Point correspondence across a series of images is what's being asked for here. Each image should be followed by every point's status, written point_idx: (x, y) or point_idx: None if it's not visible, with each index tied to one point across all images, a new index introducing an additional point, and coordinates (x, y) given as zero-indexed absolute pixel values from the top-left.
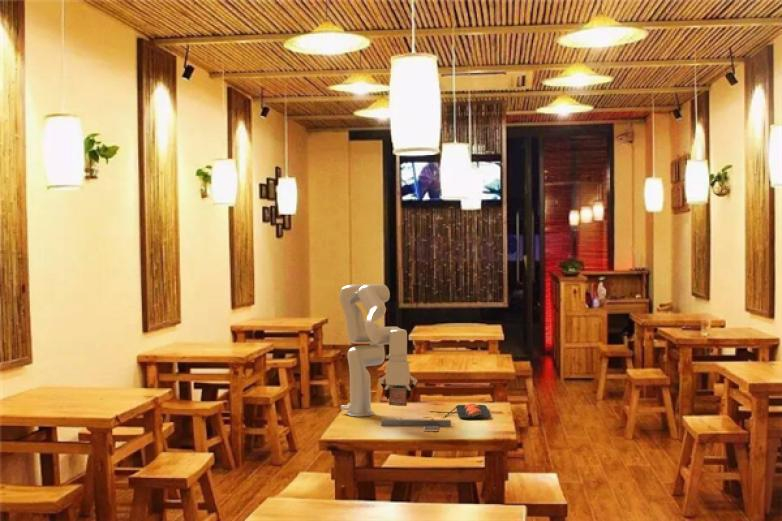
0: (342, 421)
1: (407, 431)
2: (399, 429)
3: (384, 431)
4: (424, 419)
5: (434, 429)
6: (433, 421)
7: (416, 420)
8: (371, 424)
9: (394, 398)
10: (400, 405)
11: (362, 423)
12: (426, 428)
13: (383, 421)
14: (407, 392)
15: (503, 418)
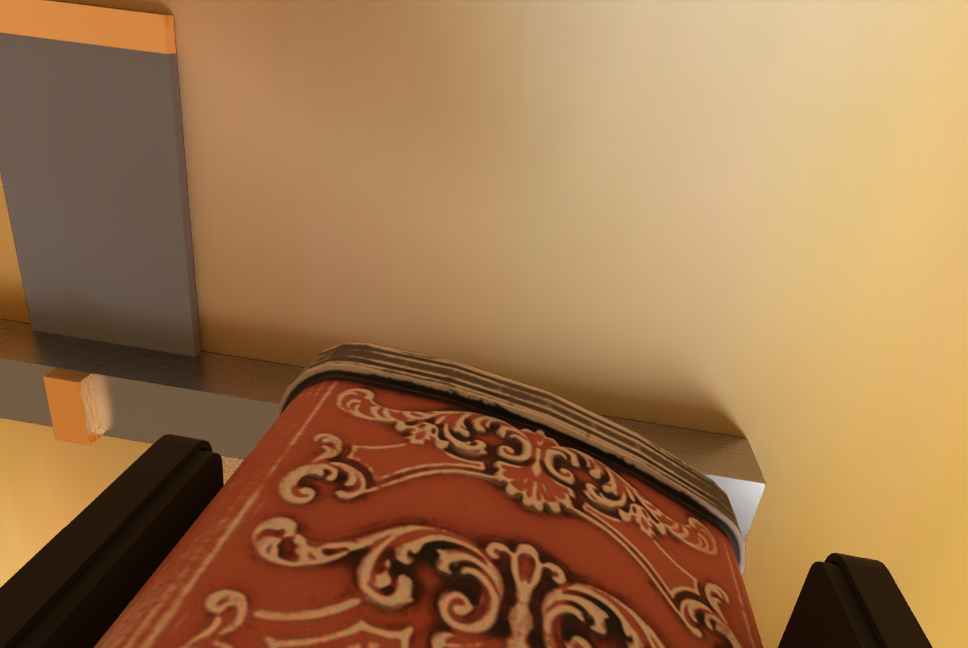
0: None
1: (412, 58)
2: (524, 203)
3: (767, 83)
4: None
5: (36, 96)
6: (63, 362)
7: (275, 405)
8: (860, 518)
9: (606, 553)
10: (448, 366)
11: (964, 579)
12: (151, 169)
13: (729, 467)
14: (21, 615)
15: None
